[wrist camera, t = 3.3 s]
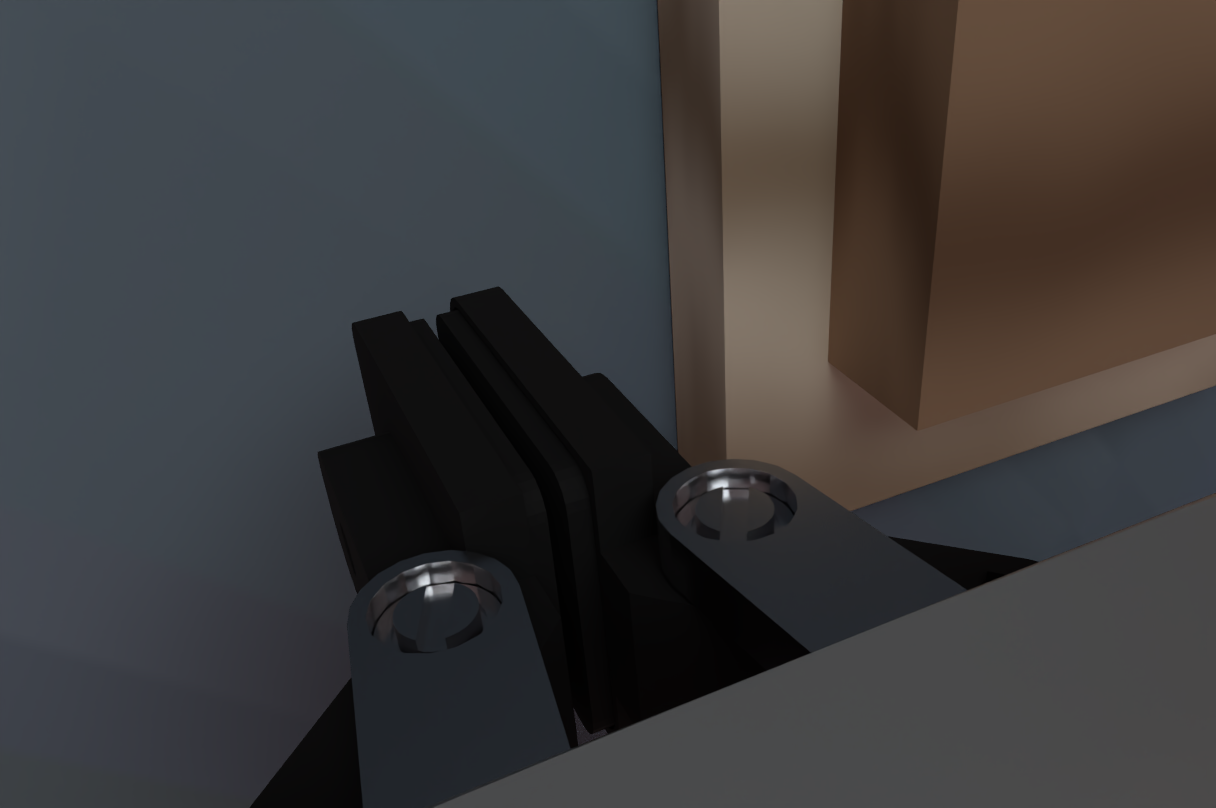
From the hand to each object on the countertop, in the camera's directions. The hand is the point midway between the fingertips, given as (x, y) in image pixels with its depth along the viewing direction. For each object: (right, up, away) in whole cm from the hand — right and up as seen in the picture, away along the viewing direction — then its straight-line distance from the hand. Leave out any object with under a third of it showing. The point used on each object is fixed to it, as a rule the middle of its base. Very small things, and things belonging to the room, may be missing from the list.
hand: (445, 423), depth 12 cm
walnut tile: (+10, +5, +6) cm, 12 cm away
